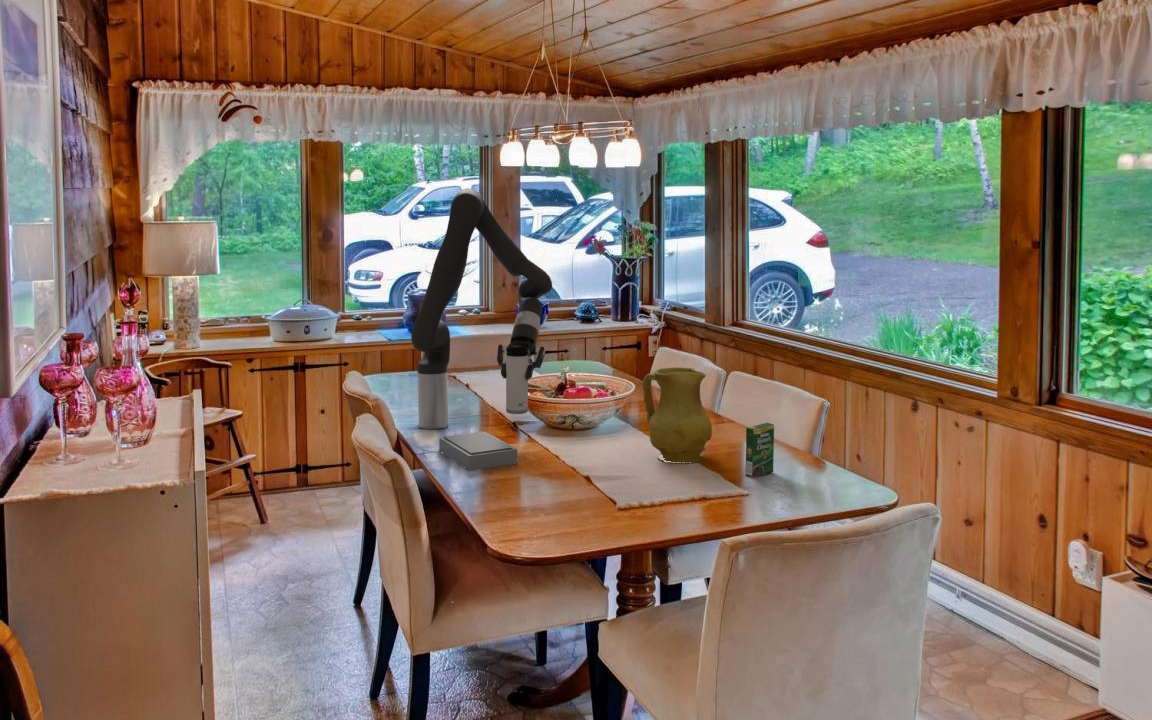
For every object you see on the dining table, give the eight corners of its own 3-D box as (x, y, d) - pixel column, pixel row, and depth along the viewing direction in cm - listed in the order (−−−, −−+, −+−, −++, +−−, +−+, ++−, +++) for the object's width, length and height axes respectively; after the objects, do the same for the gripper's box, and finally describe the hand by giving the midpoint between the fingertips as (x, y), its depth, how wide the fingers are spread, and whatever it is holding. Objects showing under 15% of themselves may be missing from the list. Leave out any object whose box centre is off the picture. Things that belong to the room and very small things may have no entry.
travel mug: (526, 415, 280) (526, 345, 276) (503, 413, 281) (503, 344, 277) (531, 409, 286) (531, 342, 282) (509, 408, 287) (509, 340, 283)
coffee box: (752, 478, 253) (753, 428, 251) (744, 475, 255) (745, 426, 253) (773, 473, 258) (775, 424, 255) (765, 470, 260) (767, 422, 258)
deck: (439, 451, 279) (439, 436, 278) (485, 445, 285) (484, 430, 285) (469, 470, 260) (468, 454, 259) (517, 463, 266) (517, 447, 266)
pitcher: (671, 468, 260) (672, 374, 257) (634, 455, 277) (635, 366, 274) (724, 462, 268) (725, 370, 265) (685, 449, 284) (686, 363, 282)
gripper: (499, 321, 288) (488, 369, 278) (548, 323, 285) (538, 371, 276) (504, 336, 294) (493, 383, 284) (551, 338, 291) (542, 386, 282)
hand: (515, 377), depth 280 cm, fingers closed on travel mug, 6 cm apart
